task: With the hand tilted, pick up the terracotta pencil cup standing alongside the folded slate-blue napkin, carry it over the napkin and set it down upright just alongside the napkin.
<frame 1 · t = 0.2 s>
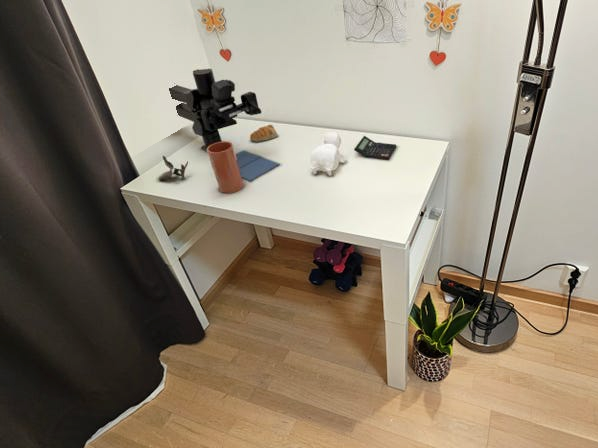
hand: (248, 116, 118), 17 cm above the table, tool horizontal, fingers open, 9 cm apart
napkin: (246, 165, 129), on the table
white lumpy rounded figurine: (329, 165, 126), on the table
pencil cup: (231, 186, 119), on the table
pastry: (265, 137, 145), on the table
calculator: (375, 152, 132), on the table
eagle figurine: (174, 177, 125), on the table
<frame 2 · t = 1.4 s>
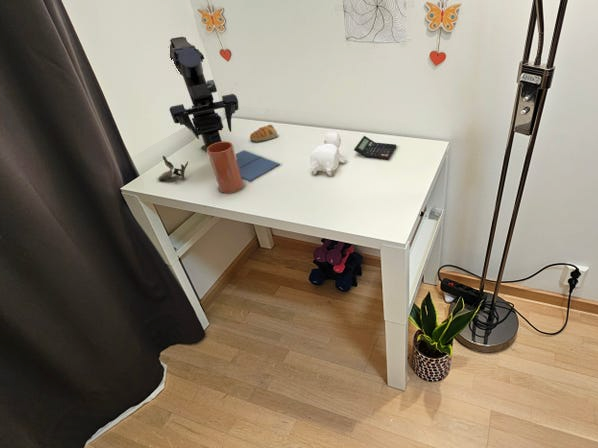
hand: (214, 134, 116), 14 cm above the table, tool tilted 45°, fingers open, 9 cm apart
nothing on the table moved.
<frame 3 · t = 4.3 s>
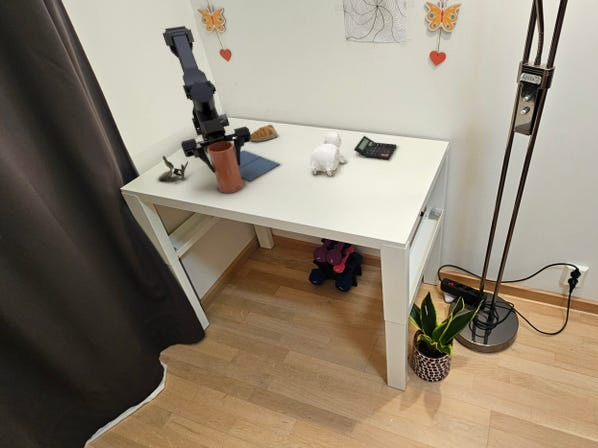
hand: (226, 168, 113), 7 cm above the table, tool tilted 45°, fingers closed on pencil cup, 7 cm apart
pencil cup: (231, 186, 118), on the table, touching gripper
everything else where it was.
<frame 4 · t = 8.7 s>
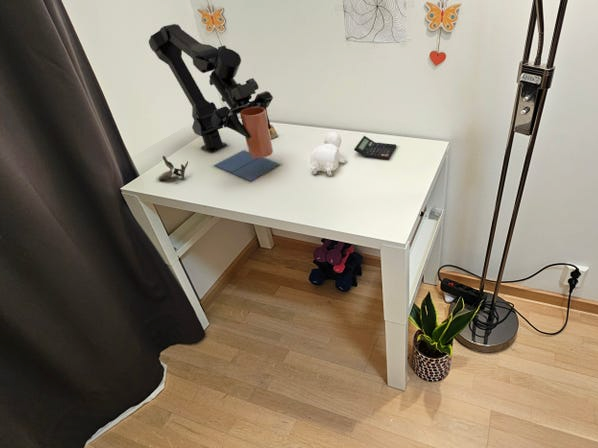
hand: (260, 133, 116), 13 cm above the table, tool tilted 45°, fingers closed on pencil cup, 7 cm apart
pencil cup: (261, 152, 120), point 7 cm above the table, touching gripper
everything else where it was.
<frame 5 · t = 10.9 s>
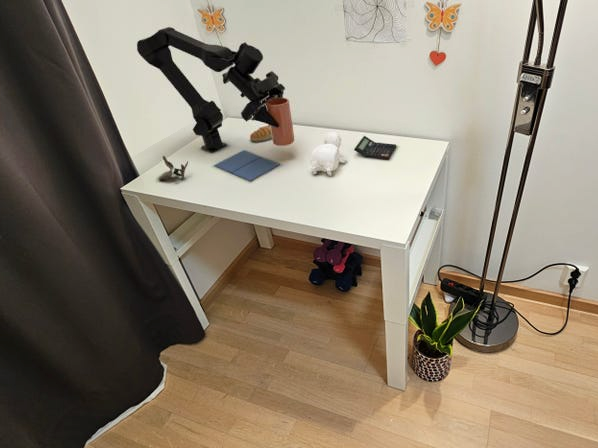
hand: (284, 121, 124), 12 cm above the table, tool tilted 45°, fingers closed on pencil cup, 7 cm apart
pencil cup: (283, 141, 129), point 6 cm above the table, touching gripper
everything else where it was.
when the fingers open (7 cm above the table, at t = 13.0 s): pencil cup stays where it is, on the table.
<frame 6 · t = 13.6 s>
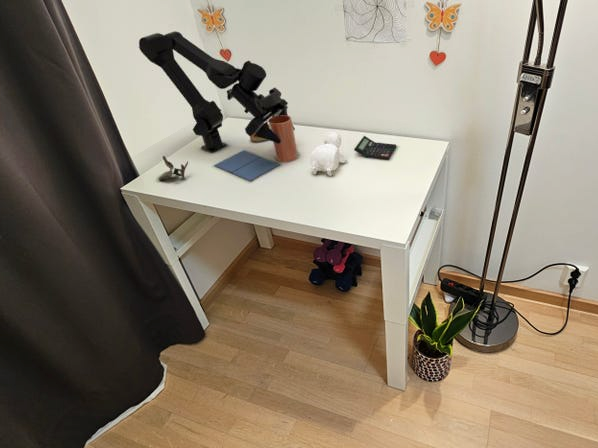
hand: (287, 136, 127), 7 cm above the table, tool tilted 45°, fingers open, 9 cm apart
pencil cup: (287, 156, 132), on the table
everything else where it was.
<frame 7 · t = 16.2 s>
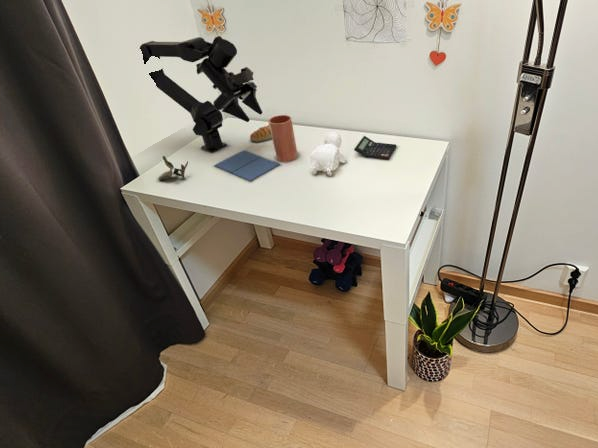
hand: (255, 117, 126), 13 cm above the table, tool tilted 40°, fingers open, 9 cm apart
nothing on the table moved.
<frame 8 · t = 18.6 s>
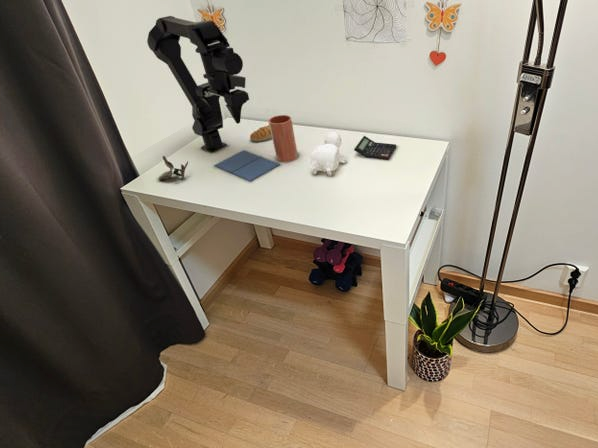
hand: (229, 120, 126), 13 cm above the table, tool pointing down, fingers open, 9 cm apart
nothing on the table moved.
at the end: pencil cup inside the target area on the table beside the napkin (6.1 cm from its centre), on the table; pencil cup tilted 0°; the gripper is holding nothing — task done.
